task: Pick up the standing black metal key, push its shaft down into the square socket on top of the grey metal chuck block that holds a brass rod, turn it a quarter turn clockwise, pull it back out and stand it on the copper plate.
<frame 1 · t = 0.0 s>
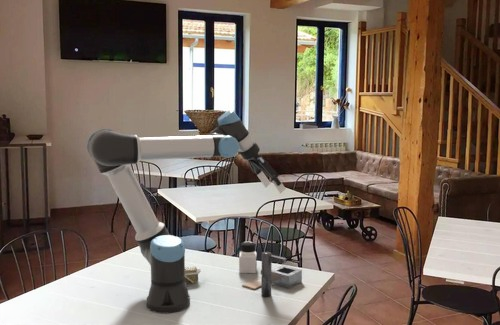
hand: (275, 188, 204), 36 cm above the table, tool tilted 35°, fingers open, 13 cm apart
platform: (188, 284, 198), on the table
chuck key: (266, 295, 186), on the table
copper plate: (254, 285, 196), on the table
chuck block: (285, 282, 199), on the table
medicine bottle: (247, 270, 213), on the table
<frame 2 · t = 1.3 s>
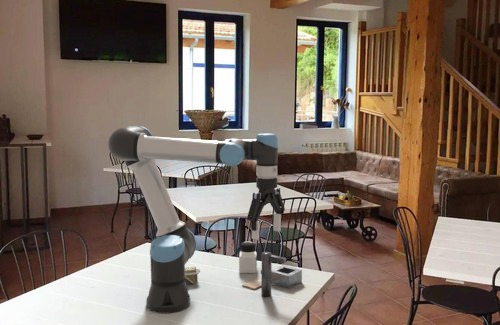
hand: (266, 234, 183), 23 cm above the table, tool pointing down, fingers open, 13 cm apart
nothing on the table moved.
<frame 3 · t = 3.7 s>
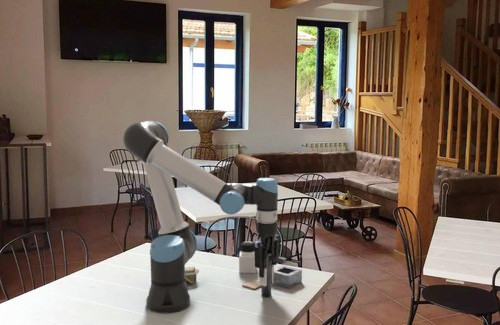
hand: (266, 283, 185), 5 cm above the table, tool pointing down, fingers closed on chuck key, 3 cm apart
chuck key: (266, 295, 186), on the table, touching gripper
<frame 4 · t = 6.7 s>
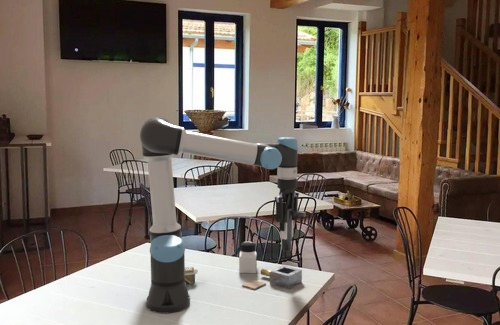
hand: (286, 237, 196), 18 cm above the table, tool pointing down, fingers closed on chuck key, 3 cm apart
chuck key: (286, 248, 197), point 14 cm above the table, touching gripper
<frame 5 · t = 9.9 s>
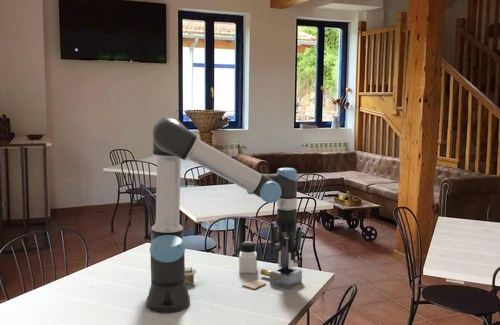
hand: (286, 266, 198), 7 cm above the table, tool pointing down, fingers closed on chuck key, 3 cm apart
chuck key: (285, 278, 198), point 2 cm above the table, touching gripper
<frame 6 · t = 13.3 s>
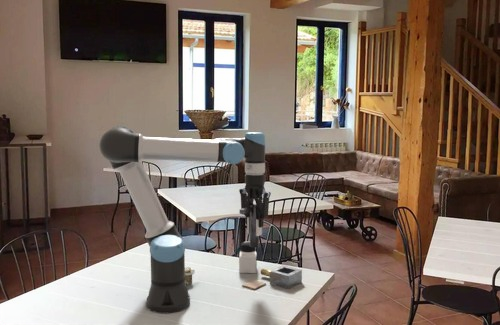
hand: (254, 234, 193), 20 cm above the table, tool pointing down, fingers closed on chuck key, 3 cm apart
chuck key: (254, 245, 193), point 16 cm above the table, touching gripper
when the fingers open (6 cm above the table, at t = 16.1 s): chuck key stays where it is, resting on copper plate.
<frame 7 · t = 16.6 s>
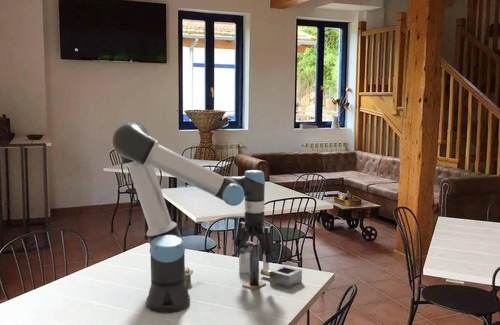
hand: (254, 267, 195), 7 cm above the table, tool pointing down, fingers open, 10 cm apart
chuck key: (254, 284, 195), point 1 cm above the table, touching copper plate
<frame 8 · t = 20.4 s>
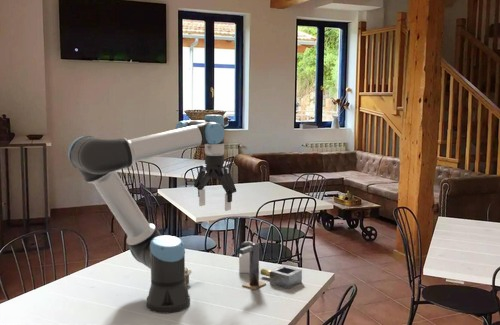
hand: (214, 207, 200), 29 cm above the table, tool pointing down, fingers open, 13 cm apart
at the end: chuck key inside the target area on the copper plate (0.0 cm from its centre), point 0.6 cm above the copper plate's base; chuck key tilted 0°; the gripper is holding nothing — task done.
